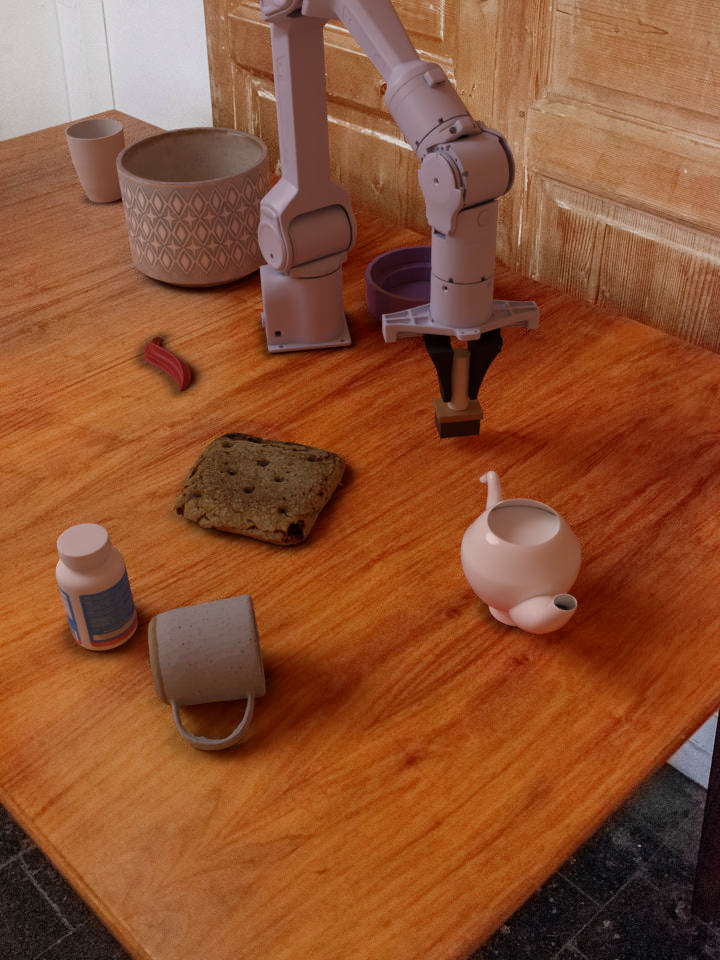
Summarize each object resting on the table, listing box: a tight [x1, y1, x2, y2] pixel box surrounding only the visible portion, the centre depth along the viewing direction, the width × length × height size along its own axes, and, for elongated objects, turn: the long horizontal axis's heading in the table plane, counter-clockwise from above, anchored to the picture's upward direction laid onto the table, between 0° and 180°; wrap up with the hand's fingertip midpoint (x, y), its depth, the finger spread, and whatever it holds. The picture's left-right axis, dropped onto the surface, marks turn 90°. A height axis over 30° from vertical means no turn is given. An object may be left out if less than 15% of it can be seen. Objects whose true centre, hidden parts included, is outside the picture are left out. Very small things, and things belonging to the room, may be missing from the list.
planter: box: [116, 126, 273, 288], centre depth 139 cm, size 19×19×14 cm
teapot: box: [460, 470, 583, 635], centre depth 88 cm, size 10×20×9 cm, turn 12°
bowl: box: [364, 244, 432, 322], centre depth 131 cm, size 14×14×4 cm
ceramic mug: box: [147, 593, 267, 751], centre depth 82 cm, size 11×8×8 cm
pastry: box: [173, 431, 346, 547], centre depth 103 cm, size 17×17×3 cm
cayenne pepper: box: [143, 336, 192, 392], centre depth 122 cm, size 12×5×2 cm, turn 14°
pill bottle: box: [55, 522, 139, 652], centre depth 87 cm, size 6×5×10 cm
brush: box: [432, 347, 484, 440], centre depth 106 cm, size 4×3×9 cm
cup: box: [64, 118, 126, 204], centre depth 158 cm, size 8×8×10 cm
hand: (458, 395), depth 107 cm, fingers closed on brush, 2 cm apart
